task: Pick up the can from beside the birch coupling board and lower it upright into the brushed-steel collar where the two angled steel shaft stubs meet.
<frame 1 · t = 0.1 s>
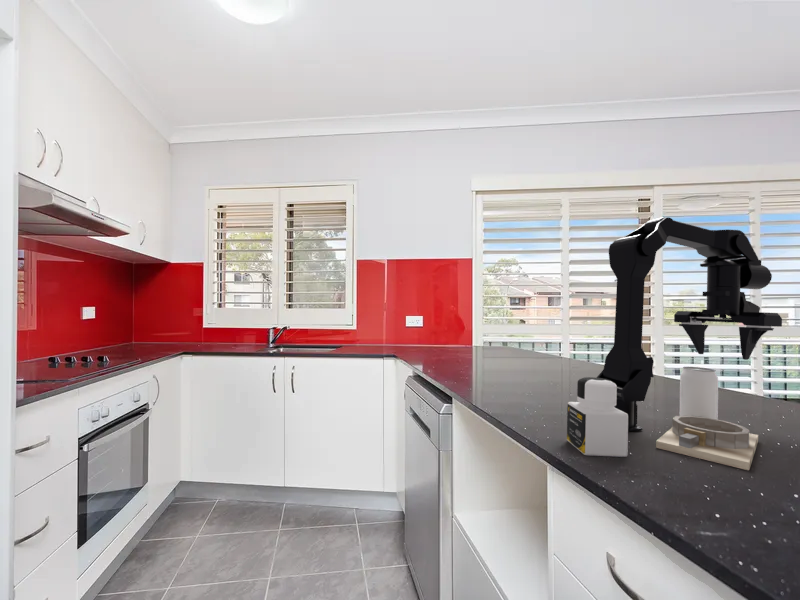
hand: (722, 356, 85), 14 cm above the counter, fingers open, 9 cm apart
coupling board: (709, 444, 69), on the counter
can: (698, 425, 82), on the counter
medicine bottle: (595, 449, 65), on the counter
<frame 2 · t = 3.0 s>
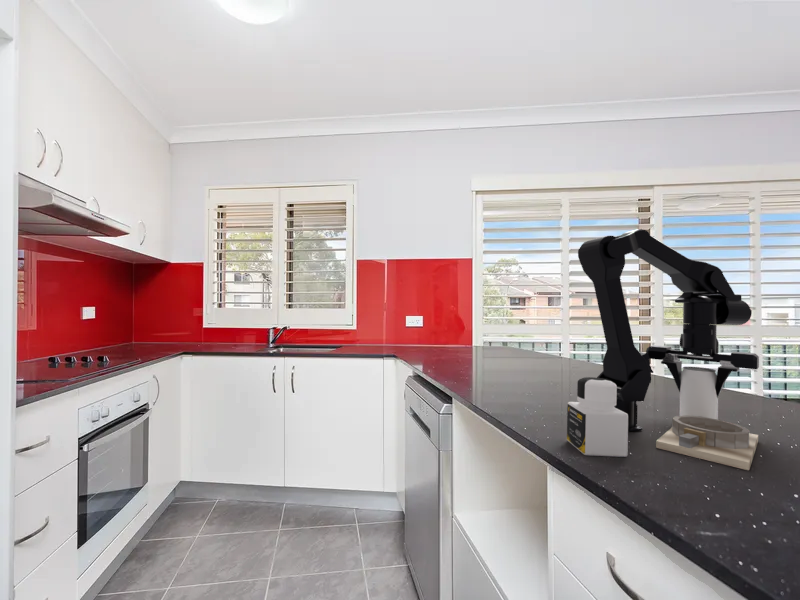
hand: (698, 396, 82), 6 cm above the counter, fingers closed on can, 6 cm apart
can: (698, 425, 82), on the counter, touching gripper
everything else where it was.
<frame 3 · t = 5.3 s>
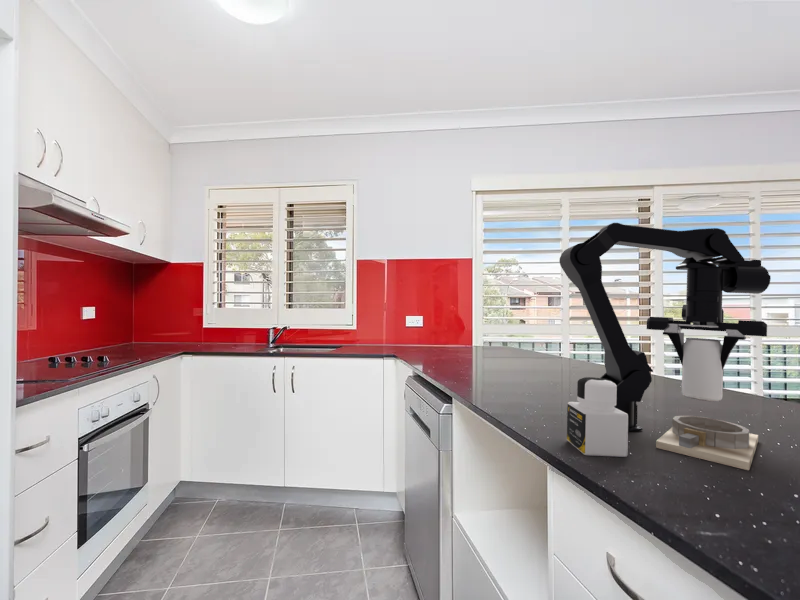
hand: (702, 368, 77), 13 cm above the counter, fingers closed on can, 6 cm apart
can: (701, 398, 77), point 7 cm above the counter, touching gripper
everything else where it was.
when the fingers open (8 cm above the counter, at t = 8.1 s): can stays where it is, resting on coupling board.
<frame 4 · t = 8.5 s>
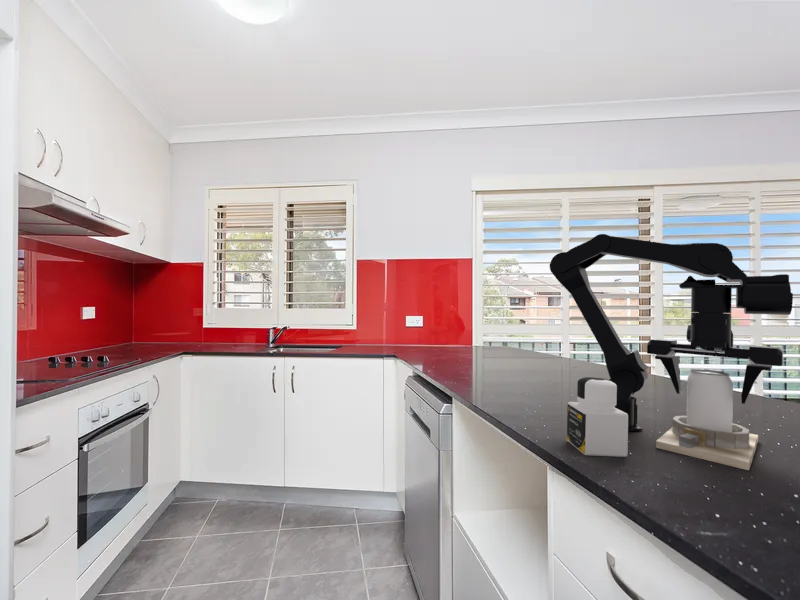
hand: (709, 398, 69), 8 cm above the counter, fingers open, 9 cm apart
can: (708, 438, 69), point 1 cm above the counter, touching coupling board
everything else where it was.
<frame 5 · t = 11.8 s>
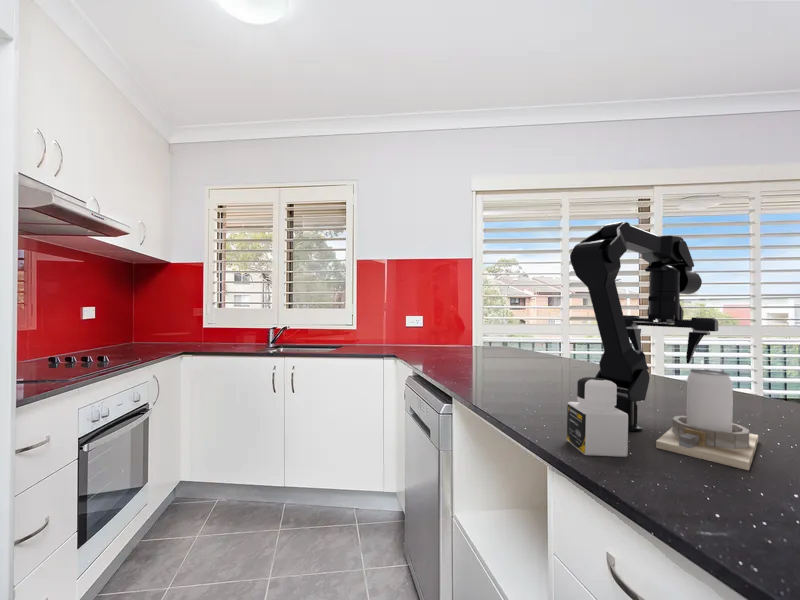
hand: (663, 360, 86), 13 cm above the counter, fingers open, 9 cm apart
nothing on the counter moved.
at the end: can 0.1 cm from the coupling board (horizontally); can point 1.0 cm above the counter; can tilted 0° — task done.
